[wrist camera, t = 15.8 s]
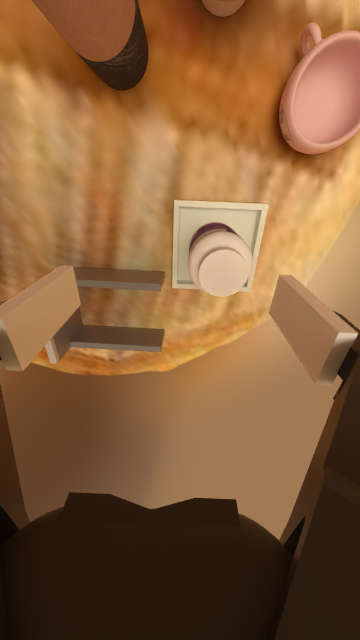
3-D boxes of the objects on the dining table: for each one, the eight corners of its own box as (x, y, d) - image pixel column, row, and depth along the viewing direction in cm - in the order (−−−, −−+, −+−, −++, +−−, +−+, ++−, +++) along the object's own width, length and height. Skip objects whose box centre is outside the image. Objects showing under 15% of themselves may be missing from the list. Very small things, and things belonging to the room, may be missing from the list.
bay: (77, 329, 49) (50, 363, 39) (64, 266, 42) (27, 289, 33) (164, 334, 48) (157, 369, 39) (164, 271, 41) (156, 296, 32)
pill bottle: (241, 263, 40) (264, 298, 27) (195, 276, 41) (197, 314, 28) (233, 214, 36) (255, 227, 23) (183, 229, 37) (179, 249, 25)
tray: (173, 282, 42) (172, 287, 40) (175, 199, 36) (174, 200, 34) (247, 286, 42) (250, 292, 40) (264, 203, 35) (268, 204, 33)
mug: (360, 127, 31) (394, 115, 25) (285, 173, 33) (302, 170, 28) (339, 9, 26) (375, -36, 21) (254, 74, 29) (267, 49, 23)
